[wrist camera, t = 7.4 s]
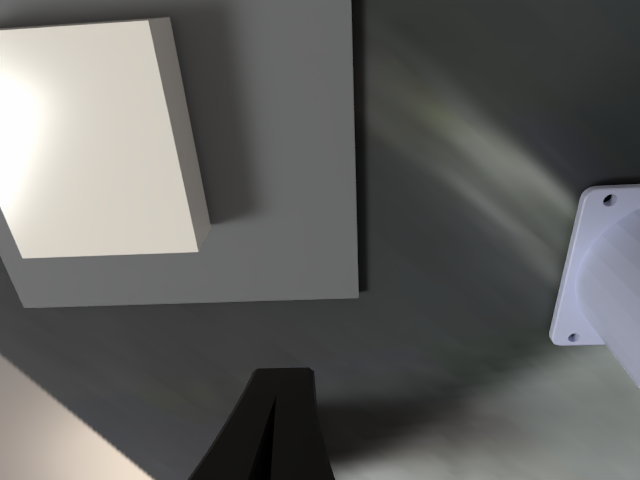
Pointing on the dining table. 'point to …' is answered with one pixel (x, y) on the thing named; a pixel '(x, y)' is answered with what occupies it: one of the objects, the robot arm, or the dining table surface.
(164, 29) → the block
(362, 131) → the dining table surface
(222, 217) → the mat
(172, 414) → the dining table surface
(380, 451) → the dining table surface
